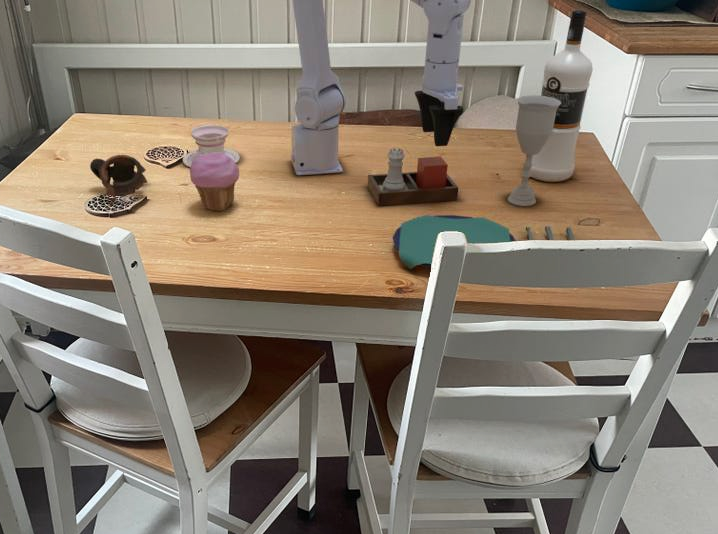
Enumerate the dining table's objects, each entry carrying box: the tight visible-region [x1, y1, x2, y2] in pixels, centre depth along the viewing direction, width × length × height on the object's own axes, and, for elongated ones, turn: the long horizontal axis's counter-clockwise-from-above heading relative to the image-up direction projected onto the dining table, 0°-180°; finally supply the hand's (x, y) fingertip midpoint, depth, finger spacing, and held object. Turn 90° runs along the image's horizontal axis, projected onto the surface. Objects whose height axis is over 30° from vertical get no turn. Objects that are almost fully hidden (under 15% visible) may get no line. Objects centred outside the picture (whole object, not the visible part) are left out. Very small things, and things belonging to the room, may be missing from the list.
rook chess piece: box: [382, 147, 406, 192], centre depth 135 cm, size 4×4×8 cm
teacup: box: [182, 124, 240, 168], centre depth 151 cm, size 12×12×6 cm
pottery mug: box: [89, 154, 148, 203], centre depth 138 cm, size 12×10×8 cm
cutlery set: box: [392, 214, 575, 270], centre depth 117 cm, size 20×30×2 cm, turn 82°
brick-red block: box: [416, 156, 449, 189], centre depth 136 cm, size 4×4×6 cm
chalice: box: [507, 94, 561, 207], centre depth 129 cm, size 7×7×18 cm
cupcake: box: [189, 152, 240, 212], centre depth 131 cm, size 9×9×10 cm
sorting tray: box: [367, 171, 459, 207], centre depth 137 cm, size 15×9×2 cm, turn 98°
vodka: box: [530, 9, 594, 183], centre depth 136 cm, size 9×9×30 cm
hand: (434, 138), depth 132 cm, fingers open, 7 cm apart
